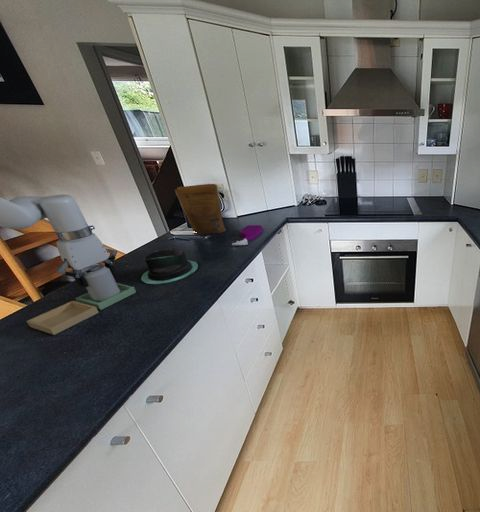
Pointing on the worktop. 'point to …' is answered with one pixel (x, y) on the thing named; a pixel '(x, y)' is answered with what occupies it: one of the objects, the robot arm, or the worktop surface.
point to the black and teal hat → (167, 266)
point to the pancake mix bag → (202, 208)
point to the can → (100, 282)
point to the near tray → (62, 317)
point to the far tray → (124, 293)
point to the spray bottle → (249, 234)
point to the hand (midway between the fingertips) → (98, 279)
